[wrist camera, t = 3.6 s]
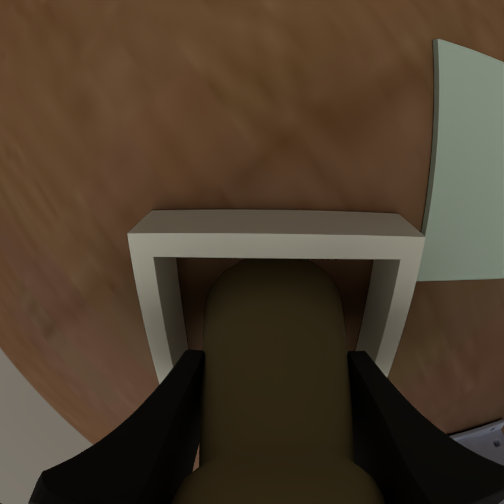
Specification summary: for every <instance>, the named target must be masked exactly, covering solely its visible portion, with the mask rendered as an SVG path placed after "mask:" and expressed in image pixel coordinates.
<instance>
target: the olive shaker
mask: <svg viewBox="0 0 504 504" xmlns="http://www.w3.org/2000/svg"><path fill="white" fill-rule="evenodd" d="M203 351H204V363H203V372H202V380H201V402H200V445H199V468H197V469H196V470H195V471H193V472H192V473H191V474H190V475H188V476H187V477H186V478H184V480H183V482H182V484H181V485H180V487H179V489H178V491H177V493H176V494H175V496H174V498H173V500H172V502H171V504H385V502H384V497H383V495H382V493H381V491H380V489H379V488H378V486H377V484H376V482H375V480H374V479H373V477H372V476H370V475H369V474H368V473H367V472H365V471H364V470H363V469H362V468H360V467H359V466H357V465H356V464H355V463H354V440H353V417H352V400H351V386H350V376H349V367H348V358H347V355H348V350H347V340H346V330H345V321H344V313H343V306H342V301H341V296H340V291H339V290H338V288H337V287H336V285H335V283H334V282H333V280H332V279H331V277H330V276H329V275H328V274H327V273H326V272H324V271H323V270H322V269H320V268H319V267H318V266H316V265H315V264H313V263H312V262H310V261H307V260H304V259H288V258H250V259H246V260H242V261H241V262H239V263H237V264H236V265H234V266H233V267H231V268H230V269H228V270H226V271H225V272H223V273H222V275H221V276H220V277H219V278H218V280H217V281H216V282H215V283H214V285H213V286H212V287H211V289H210V292H209V295H208V298H207V301H206V305H205V314H204V331H203Z"/></svg>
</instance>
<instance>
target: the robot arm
mask: <svg viewBox="0 0 504 504" xmlns="http://www.w3.org/2000/svg"><path fill="white" fill-rule="evenodd" d="M347 358H348V367H349V376H350V386H351V400H352V417H353V440H354V463H355V464H356V465H357V466H359V467H360V468H362V469H363V470H364V471H365V472H367V473H368V474H369V475H370V476H372V477H373V479H374V480H375V482H376V484H377V486H378V488H379V489H380V491H381V493H382V495H383V497H384V502H385V504H504V434H503V432H502V430H501V428H502V427H503V426H504V420H499V421H497V422H494V423H491V424H488V425H485V426H482V427H479V428H475V429H472V430H469V431H465V432H462V433H458V434H455V435H451V436H448V435H446V434H445V433H444V432H442V431H441V430H440V429H438V428H437V427H436V426H435V425H433V424H432V423H431V422H430V421H429V420H427V419H426V418H425V417H424V416H423V415H422V414H421V413H419V412H418V411H417V410H416V409H415V408H414V407H413V406H412V405H411V404H410V403H409V402H408V401H407V400H406V398H405V397H404V396H403V395H402V394H401V393H400V392H399V391H398V390H397V389H396V387H395V386H394V385H393V384H392V383H391V382H390V381H389V379H388V378H387V377H386V376H385V375H384V373H383V372H382V371H381V370H380V369H379V367H378V366H377V365H376V364H375V362H374V361H373V360H372V359H371V357H370V356H369V355H368V354H367V353H366V351H348V355H347ZM203 363H204V351H200V350H186V351H185V352H184V353H183V354H182V356H181V357H180V359H179V360H178V361H177V363H176V364H175V365H174V367H173V368H172V369H171V371H170V372H169V373H168V375H167V376H166V377H165V378H164V380H163V381H162V382H161V383H160V385H159V386H158V387H157V388H156V389H155V391H154V392H153V393H152V394H151V395H150V396H149V397H148V398H147V399H146V400H145V402H144V403H143V404H142V405H141V406H140V407H139V408H138V409H137V410H136V411H135V412H134V413H133V414H132V415H131V416H130V417H129V418H127V419H126V420H125V421H124V422H123V423H122V424H121V425H119V426H118V427H117V428H116V429H115V430H113V431H112V432H111V433H109V434H108V435H107V436H106V437H104V438H103V439H101V440H100V441H99V442H97V443H96V444H94V445H93V446H91V447H90V448H88V449H86V450H85V451H83V452H81V453H80V454H78V455H76V456H75V457H73V458H71V459H69V460H67V461H65V462H63V463H61V464H59V465H56V466H54V467H52V468H50V469H48V470H45V471H43V472H42V474H41V475H40V477H39V479H38V481H37V483H36V486H35V488H34V491H33V493H32V495H31V498H30V500H29V504H171V502H172V500H173V498H174V496H175V494H176V493H177V491H178V489H179V487H180V485H181V484H182V482H183V480H184V478H186V477H187V476H188V475H190V474H191V473H192V471H193V466H194V462H195V458H196V454H197V450H198V446H199V442H200V402H201V380H202V372H203ZM0 504H1V503H0Z"/></svg>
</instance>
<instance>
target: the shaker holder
mask: <svg viewBox="0 0 504 504" xmlns="http://www.w3.org/2000/svg"><path fill="white" fill-rule="evenodd" d="M127 235H128V242H129V248H130V254H131V260H132V266H133V271H134V277H135V282H136V287H137V293H138V298H139V302H140V307H141V312H142V316H143V321H144V325H145V330H146V334H147V338H148V342H149V346H150V350H151V354H152V358H153V362H154V366H155V370H156V373H157V377H158V381H159V384H160V383H161V382H162V381H163V380H164V378H165V377H166V376H167V375H168V373H169V372H170V371H171V369H172V368H173V367H174V365H175V364H176V363H177V361H178V360H179V359H180V357H181V356H182V354H183V353H184V352H185V351H186V350H189V349H188V343H187V336H186V330H185V323H184V316H183V309H182V302H181V294H180V287H179V279H178V270H177V262H176V257H205V258H288V259H374V261H373V267H372V273H371V279H370V284H369V290H368V295H367V300H366V305H365V310H364V315H363V320H362V324H361V329H360V333H359V338H358V342H357V346H356V350H355V351H366V353H367V354H368V355H369V356H370V357H371V359H372V360H373V361H374V362H375V364H376V365H377V366H378V367H379V369H380V370H381V371H382V372H383V373H384V375H385V376H386V377H388V374H389V371H390V368H391V365H392V363H393V360H394V357H395V354H396V351H397V348H398V344H399V341H400V338H401V335H402V332H403V328H404V325H405V322H406V318H407V315H408V311H409V307H410V304H411V300H412V296H413V292H414V288H415V284H416V280H417V276H418V271H419V267H420V262H421V258H422V253H423V248H424V243H425V238H426V237H425V236H424V235H423V234H422V233H420V232H419V231H418V230H417V229H416V228H415V227H414V226H412V225H411V224H410V223H409V222H408V221H407V220H405V219H404V218H403V217H402V216H401V215H400V214H395V213H374V212H348V211H315V210H247V209H218V210H152V211H151V212H150V213H149V214H147V215H146V216H145V217H144V218H143V219H142V220H141V221H140V222H139V223H138V224H137V225H136V226H135V227H134V228H133V229H131V230H130V231H129V232H128V233H127Z"/></svg>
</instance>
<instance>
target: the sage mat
mask: <svg viewBox="0 0 504 504" xmlns="http://www.w3.org/2000/svg"><path fill="white" fill-rule="evenodd" d="M433 52H434V122H433V140H432V153H431V164H430V174H429V183H428V191H427V199H426V206H425V212H424V219H423V225H422V231H421V233H422V234H423V235H424V236H425V237H426V238H425V243H424V248H423V253H422V258H421V262H420V267H419V271H418V276H417V280H416V281H443V280H474V279H498V278H504V62H502V61H499V60H497V59H495V58H492V57H490V56H487V55H485V54H482V53H479V52H477V51H474V50H471V49H468V48H465V47H463V46H460V45H457V44H454V43H450V42H447V41H444V40H441V39H435V40H433Z"/></svg>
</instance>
